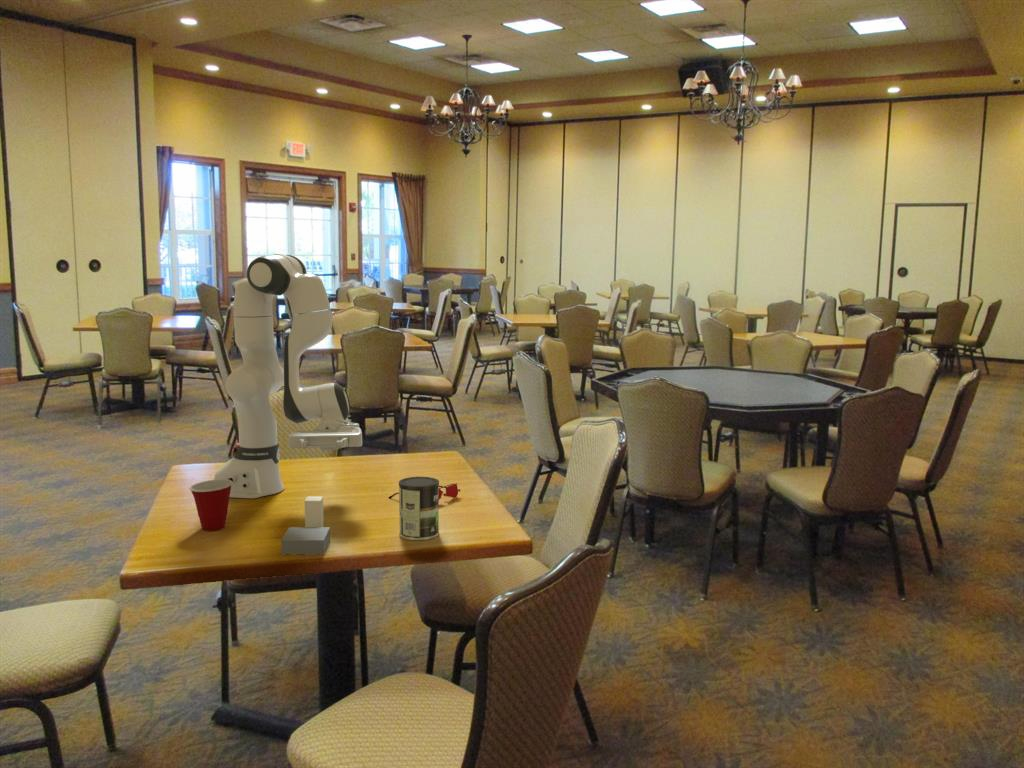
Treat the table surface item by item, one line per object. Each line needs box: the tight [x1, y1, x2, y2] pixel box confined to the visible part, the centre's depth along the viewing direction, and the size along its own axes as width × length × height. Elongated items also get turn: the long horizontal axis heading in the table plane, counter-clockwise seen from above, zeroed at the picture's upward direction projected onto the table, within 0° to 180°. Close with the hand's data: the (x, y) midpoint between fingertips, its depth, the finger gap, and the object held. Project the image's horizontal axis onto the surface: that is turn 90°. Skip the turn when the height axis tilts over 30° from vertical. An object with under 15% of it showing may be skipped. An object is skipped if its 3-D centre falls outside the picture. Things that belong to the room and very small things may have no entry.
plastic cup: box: [188, 479, 233, 532], centre depth 224 cm, size 11×11×12 cm
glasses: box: [388, 483, 461, 500], centre depth 256 cm, size 14×16×5 cm
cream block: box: [304, 495, 325, 527], centre depth 222 cm, size 4×4×9 cm
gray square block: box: [280, 526, 331, 556], centre depth 211 cm, size 10×10×4 cm
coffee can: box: [398, 476, 440, 541], centre depth 222 cm, size 10×10×14 cm
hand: (321, 445), depth 232 cm, fingers open, 8 cm apart
